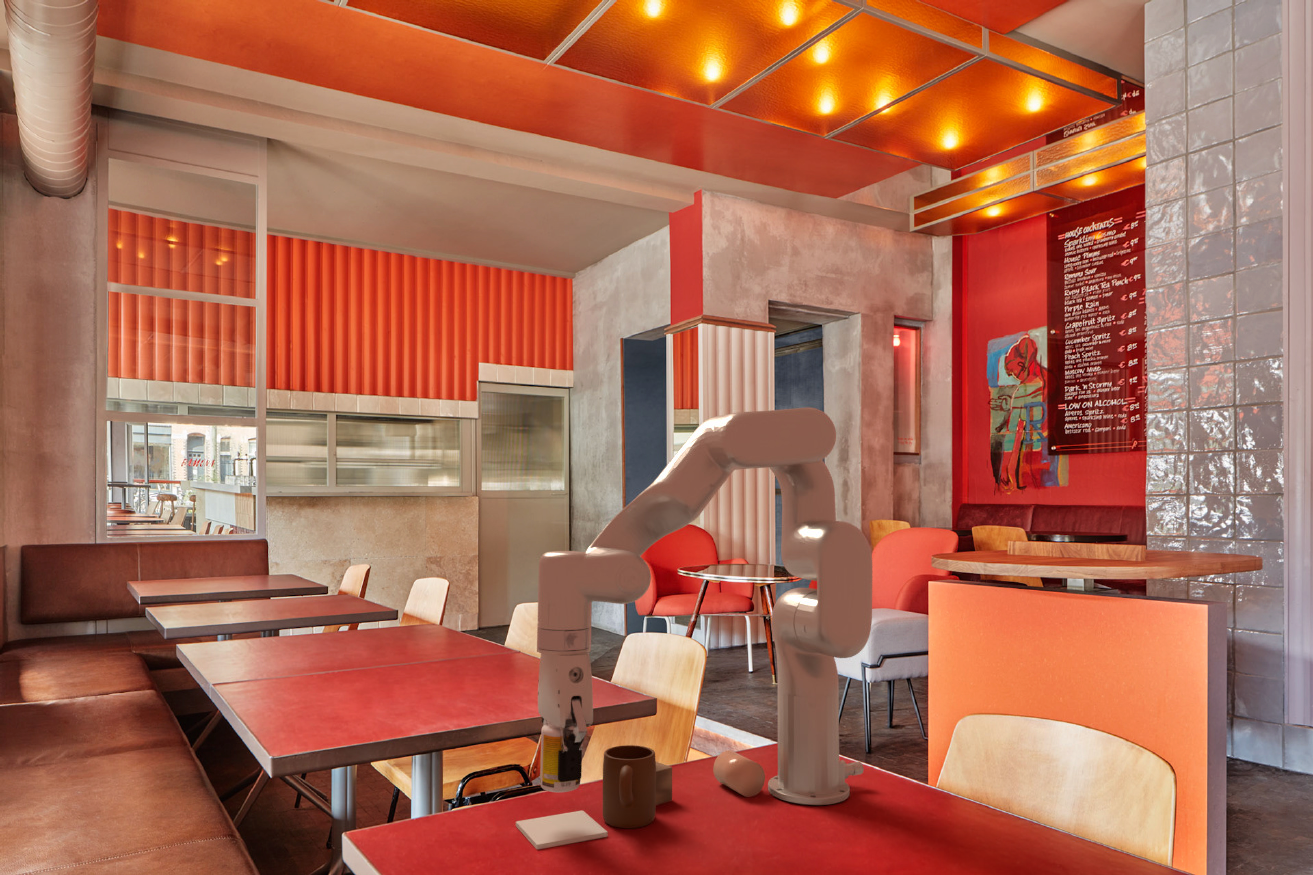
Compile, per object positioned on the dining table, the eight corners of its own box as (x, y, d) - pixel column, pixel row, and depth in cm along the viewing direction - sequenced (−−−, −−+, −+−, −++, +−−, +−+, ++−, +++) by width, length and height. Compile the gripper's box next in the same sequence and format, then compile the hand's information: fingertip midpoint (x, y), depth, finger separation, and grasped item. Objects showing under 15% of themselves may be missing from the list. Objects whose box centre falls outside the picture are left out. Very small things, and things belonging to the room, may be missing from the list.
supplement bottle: (585, 791, 115) (586, 714, 115) (544, 795, 113) (546, 717, 114) (574, 779, 120) (576, 705, 121) (536, 782, 118) (537, 707, 119)
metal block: (650, 792, 132) (650, 759, 133) (672, 800, 128) (672, 767, 129) (625, 799, 129) (626, 765, 129) (647, 808, 125) (647, 773, 125)
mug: (653, 843, 112) (653, 770, 113) (596, 841, 112) (597, 769, 113) (656, 810, 124) (657, 744, 125) (605, 809, 124) (605, 744, 125)
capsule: (709, 779, 135) (735, 786, 137) (732, 792, 129) (759, 800, 131) (719, 746, 136) (744, 754, 139) (742, 758, 130) (769, 766, 132)
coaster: (582, 814, 122) (582, 810, 122) (607, 836, 114) (607, 831, 114) (515, 825, 118) (515, 821, 118) (536, 849, 110) (537, 844, 110)
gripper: (613, 647, 112) (611, 788, 110) (567, 630, 127) (564, 753, 126) (560, 651, 109) (557, 796, 107) (519, 633, 124) (515, 760, 122)
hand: (561, 772), depth 116 cm, fingers closed on supplement bottle, 5 cm apart
